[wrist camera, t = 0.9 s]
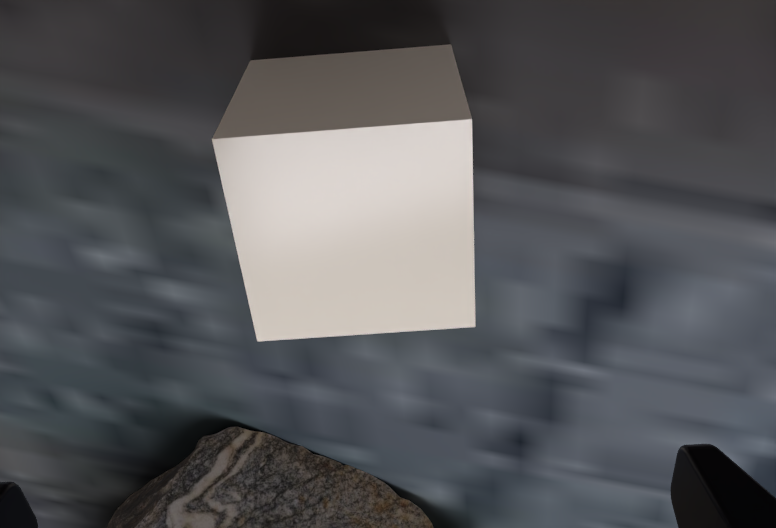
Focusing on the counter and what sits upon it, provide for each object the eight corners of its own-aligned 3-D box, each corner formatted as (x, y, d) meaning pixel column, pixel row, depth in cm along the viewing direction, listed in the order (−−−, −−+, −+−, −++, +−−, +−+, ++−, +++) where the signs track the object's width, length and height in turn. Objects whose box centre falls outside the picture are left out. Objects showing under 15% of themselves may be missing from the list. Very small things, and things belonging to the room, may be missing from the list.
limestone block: (450, 43, 18) (472, 119, 14) (456, 218, 21) (475, 326, 16) (250, 59, 18) (212, 139, 14) (282, 230, 21) (257, 341, 17)
